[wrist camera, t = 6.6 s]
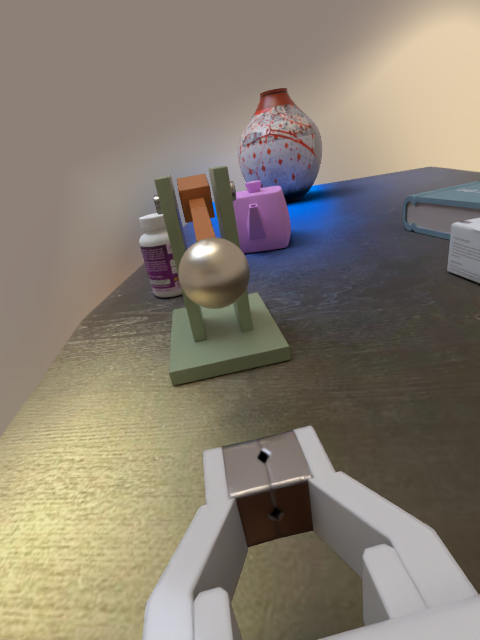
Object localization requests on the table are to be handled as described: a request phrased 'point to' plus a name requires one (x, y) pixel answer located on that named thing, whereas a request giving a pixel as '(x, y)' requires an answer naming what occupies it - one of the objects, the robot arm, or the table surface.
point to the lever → (209, 252)
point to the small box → (465, 249)
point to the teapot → (261, 218)
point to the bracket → (216, 324)
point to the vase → (280, 146)
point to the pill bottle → (159, 256)
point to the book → (441, 209)
